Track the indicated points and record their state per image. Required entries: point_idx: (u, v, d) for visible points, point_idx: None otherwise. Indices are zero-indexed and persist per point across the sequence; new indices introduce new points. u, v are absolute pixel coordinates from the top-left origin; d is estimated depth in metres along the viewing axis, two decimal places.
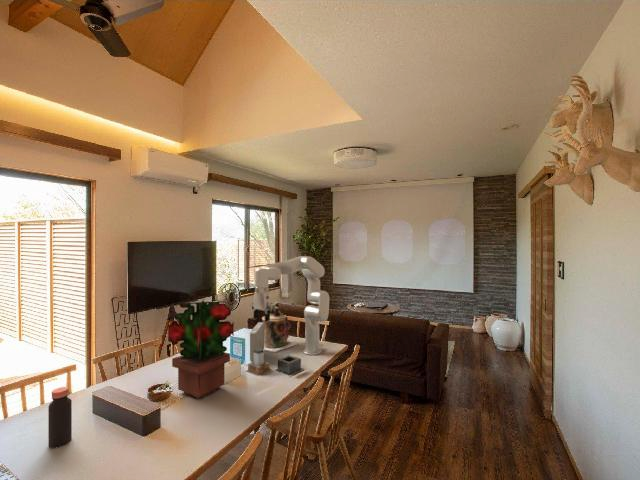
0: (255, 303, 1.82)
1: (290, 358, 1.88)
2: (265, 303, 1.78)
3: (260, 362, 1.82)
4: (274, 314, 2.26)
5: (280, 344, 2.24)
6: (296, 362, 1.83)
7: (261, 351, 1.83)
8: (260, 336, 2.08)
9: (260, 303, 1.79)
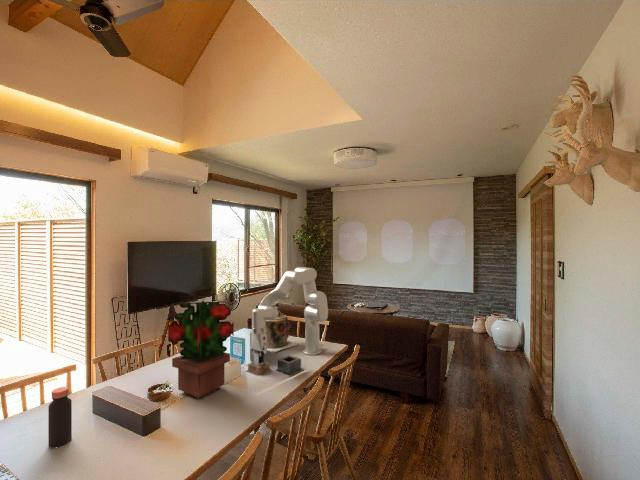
0: (252, 343, 1.84)
1: (290, 358, 1.88)
2: (262, 344, 1.80)
3: None
4: None
5: (280, 344, 2.24)
6: (296, 362, 1.83)
7: None
8: None
9: (257, 344, 1.81)
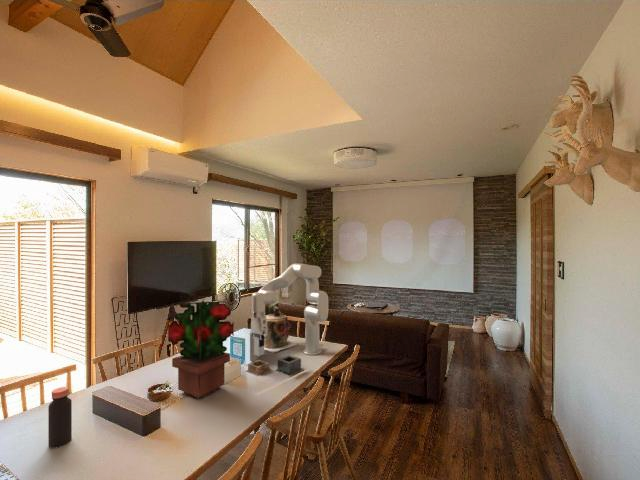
0: (252, 327, 1.84)
1: (290, 358, 1.88)
2: (262, 328, 1.80)
3: None
4: (274, 314, 2.26)
5: (280, 344, 2.24)
6: (296, 362, 1.83)
7: (261, 335, 1.83)
8: None
9: (257, 328, 1.81)
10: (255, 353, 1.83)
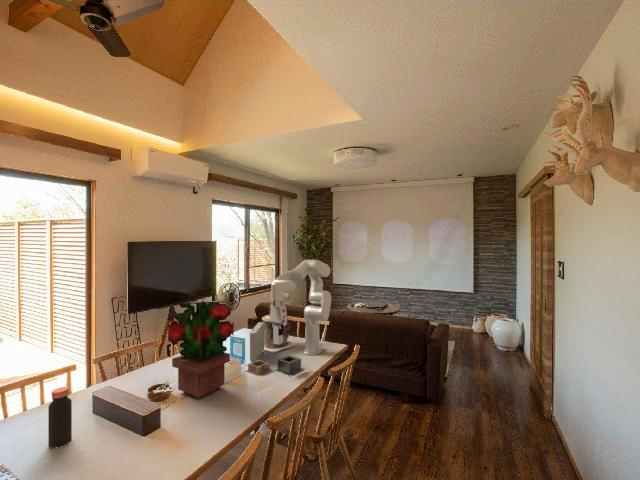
0: (272, 316, 1.85)
1: (290, 358, 1.88)
2: (281, 316, 1.80)
3: None
4: None
5: (280, 344, 2.24)
6: (296, 362, 1.83)
7: None
8: (260, 336, 2.08)
9: (276, 316, 1.82)
10: (274, 342, 1.84)
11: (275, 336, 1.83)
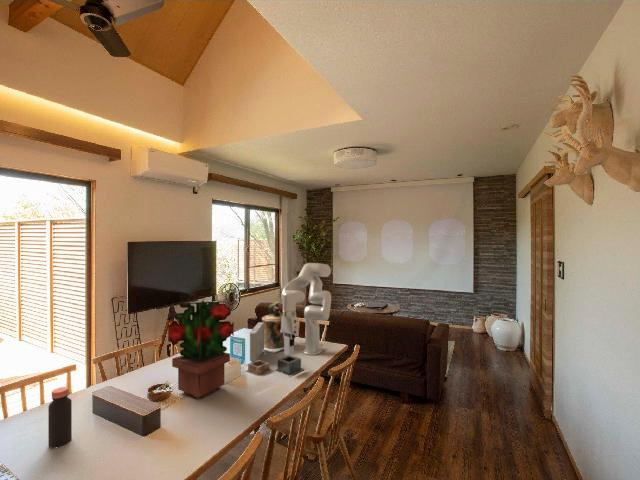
0: (283, 327, 1.85)
1: (290, 358, 1.88)
2: (293, 327, 1.81)
3: (291, 346, 1.83)
4: (274, 314, 2.26)
5: (280, 344, 2.24)
6: (296, 362, 1.83)
7: None
8: (260, 336, 2.08)
9: (288, 327, 1.82)
10: (285, 352, 1.84)
11: (286, 347, 1.83)
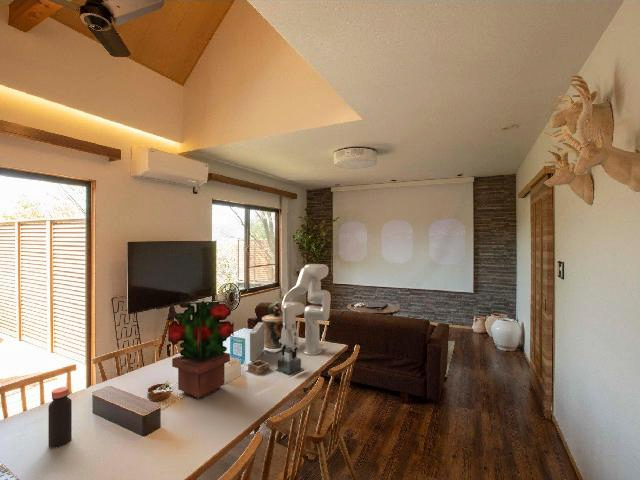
0: (283, 339, 1.85)
1: None
2: (293, 340, 1.81)
3: None
4: (274, 314, 2.26)
5: None
6: (296, 362, 1.83)
7: (292, 350, 1.84)
8: (260, 336, 2.08)
9: (288, 340, 1.82)
10: None
11: None
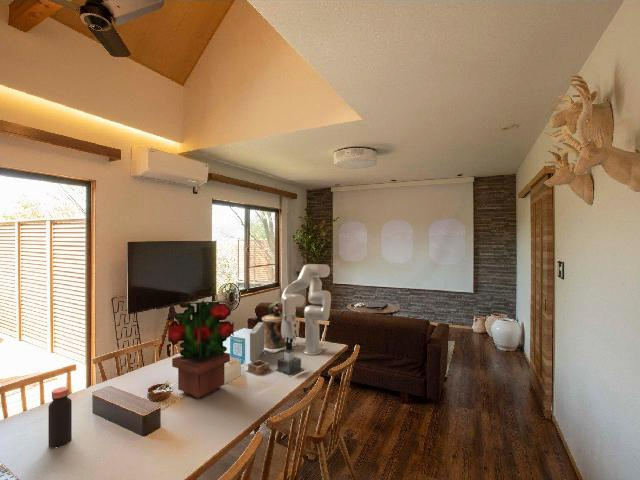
0: (283, 331, 1.85)
1: None
2: (293, 331, 1.81)
3: None
4: (274, 314, 2.25)
5: (280, 344, 2.23)
6: (296, 362, 1.83)
7: (292, 350, 1.84)
8: (260, 336, 2.07)
9: (288, 331, 1.82)
10: None
11: None
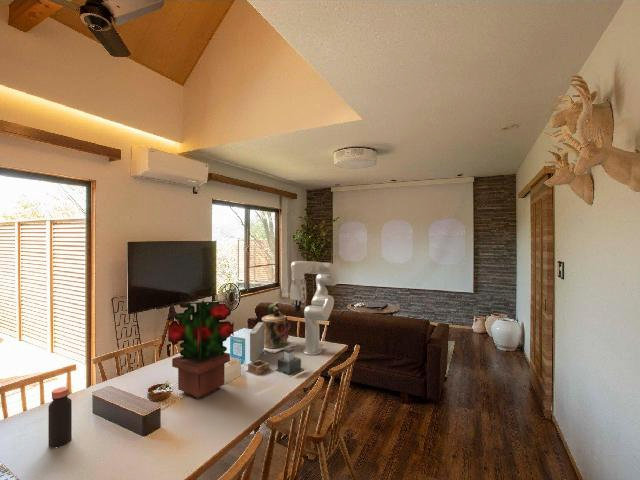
0: (292, 294, 1.98)
1: None
2: (302, 294, 1.94)
3: None
4: (274, 314, 2.25)
5: (280, 345, 2.23)
6: (296, 362, 1.83)
7: (292, 350, 1.84)
8: (260, 336, 2.07)
9: (297, 294, 1.96)
10: None
11: None
